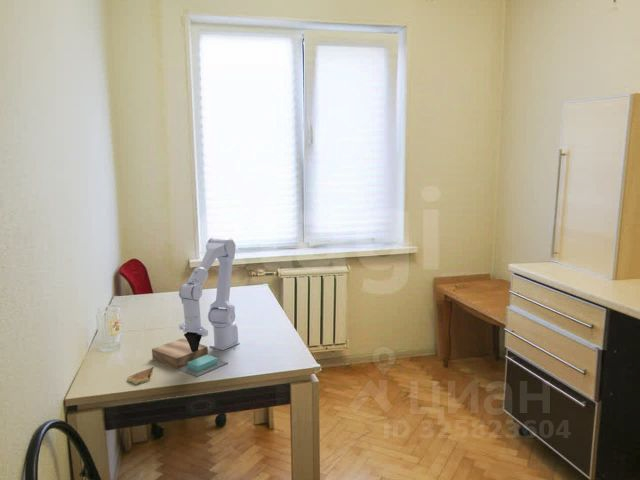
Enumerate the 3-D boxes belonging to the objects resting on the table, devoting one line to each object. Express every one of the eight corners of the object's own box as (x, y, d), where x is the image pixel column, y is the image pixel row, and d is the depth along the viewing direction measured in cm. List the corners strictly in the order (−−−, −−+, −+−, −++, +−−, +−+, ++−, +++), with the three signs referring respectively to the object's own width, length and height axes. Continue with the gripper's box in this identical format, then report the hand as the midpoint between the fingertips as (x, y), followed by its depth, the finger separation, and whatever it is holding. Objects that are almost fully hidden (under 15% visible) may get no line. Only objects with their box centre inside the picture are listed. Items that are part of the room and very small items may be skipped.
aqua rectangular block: (217, 358, 185) (217, 363, 185) (207, 354, 188) (207, 359, 189) (197, 366, 178) (198, 371, 178) (187, 362, 182) (187, 367, 182)
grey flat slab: (209, 356, 192) (208, 355, 192) (227, 363, 185) (227, 362, 185) (178, 369, 182) (178, 368, 182) (197, 376, 175) (197, 375, 175)
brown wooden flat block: (183, 347, 203) (182, 338, 202) (208, 356, 193) (207, 346, 192) (152, 358, 192) (151, 349, 191) (177, 368, 182) (176, 358, 181)
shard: (153, 370, 182) (153, 365, 182) (166, 375, 178) (165, 370, 177) (126, 381, 174) (126, 376, 174) (139, 386, 169) (138, 381, 169)
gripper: (171, 315, 185) (174, 350, 187) (195, 322, 176) (198, 358, 178) (187, 310, 190) (189, 344, 192) (211, 317, 181) (213, 352, 183)
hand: (194, 350), depth 186 cm, fingers closed
